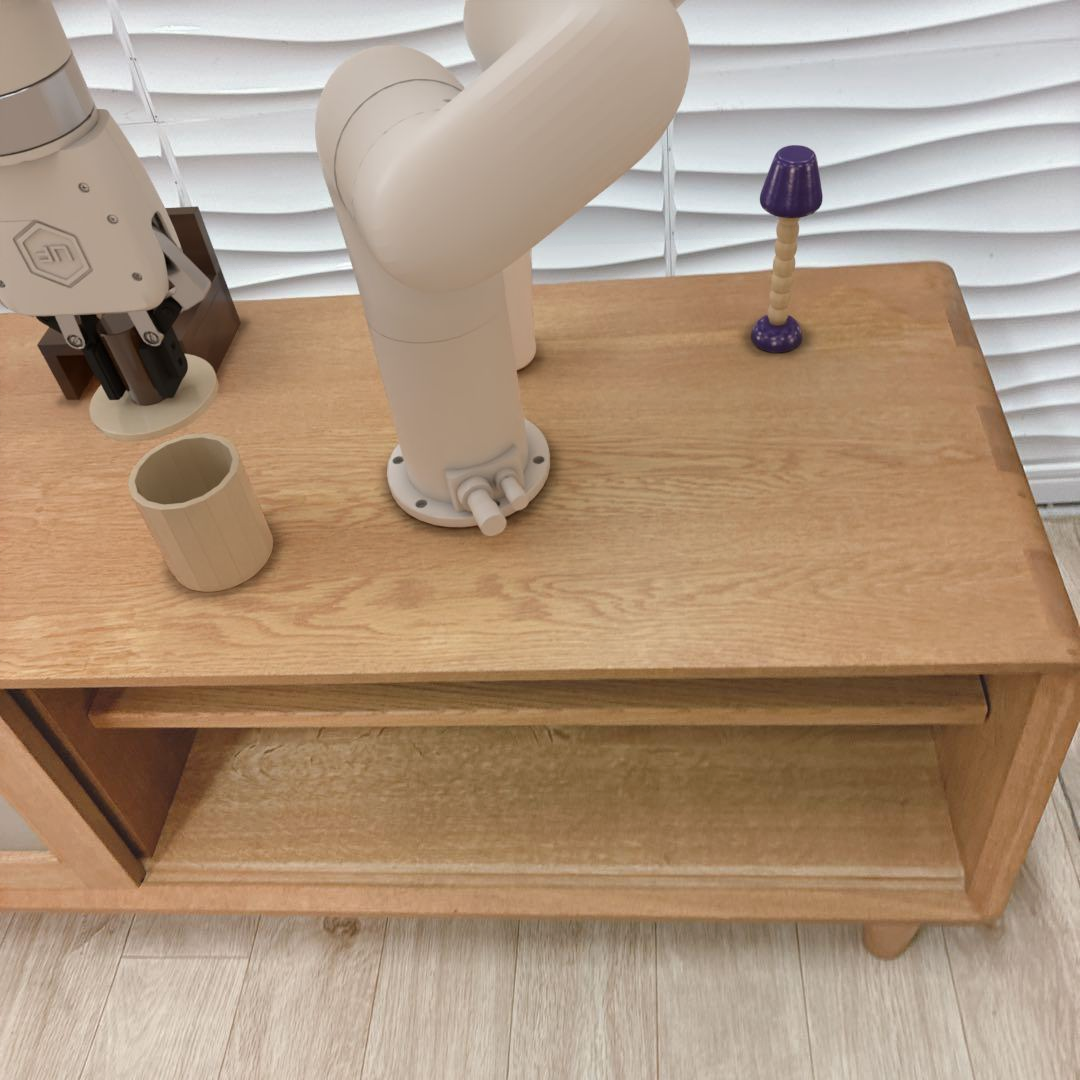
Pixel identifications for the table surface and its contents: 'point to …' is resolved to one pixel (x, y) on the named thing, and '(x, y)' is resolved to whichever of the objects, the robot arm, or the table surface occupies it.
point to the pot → (202, 511)
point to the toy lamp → (786, 239)
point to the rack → (195, 328)
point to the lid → (146, 389)
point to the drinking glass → (521, 308)
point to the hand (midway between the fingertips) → (148, 383)
